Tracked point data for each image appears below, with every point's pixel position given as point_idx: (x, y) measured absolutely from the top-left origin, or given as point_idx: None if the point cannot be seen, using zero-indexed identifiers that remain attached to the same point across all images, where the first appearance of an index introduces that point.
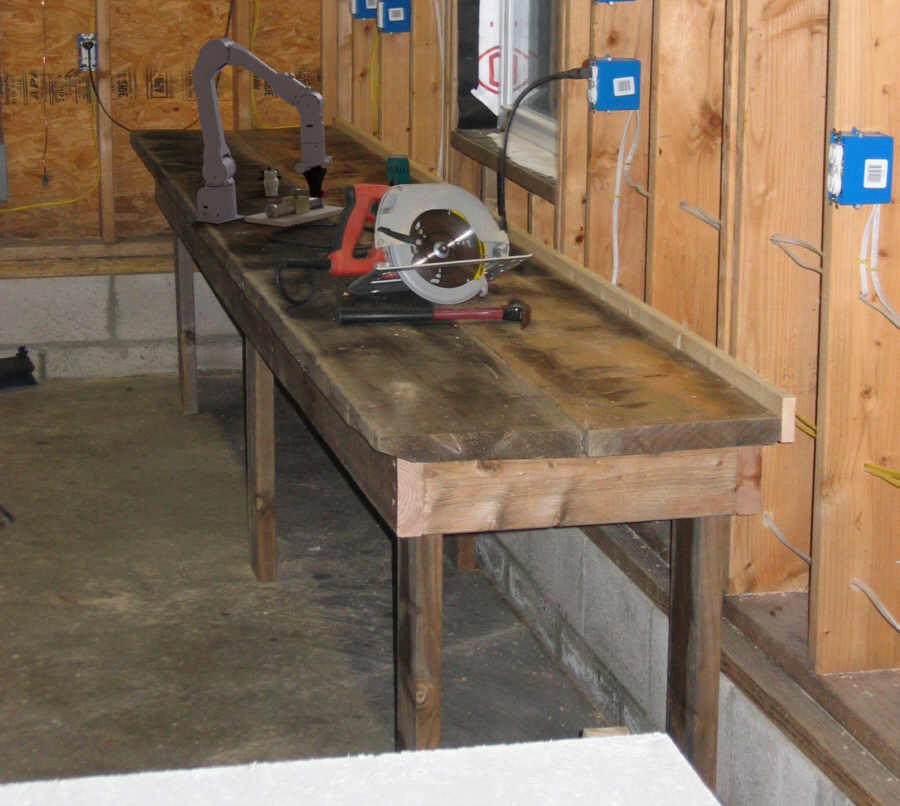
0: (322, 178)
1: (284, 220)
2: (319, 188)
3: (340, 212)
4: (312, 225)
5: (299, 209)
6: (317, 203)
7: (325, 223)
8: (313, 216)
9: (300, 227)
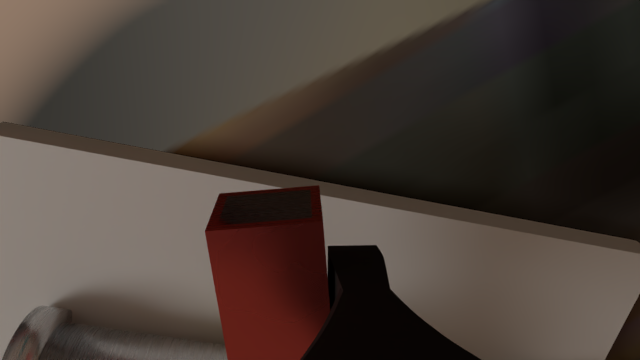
0: (357, 357)
1: (598, 297)
2: (389, 287)
3: (71, 140)
4: (548, 109)
5: None
6: (115, 339)
7: (454, 54)
8: (384, 205)
9: (631, 152)
